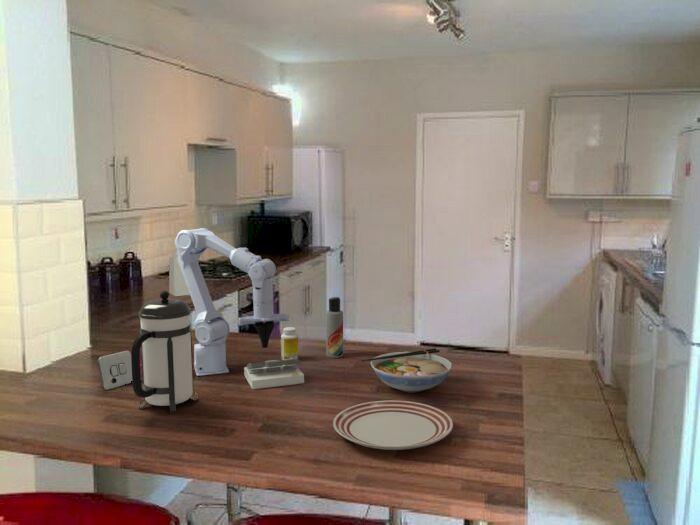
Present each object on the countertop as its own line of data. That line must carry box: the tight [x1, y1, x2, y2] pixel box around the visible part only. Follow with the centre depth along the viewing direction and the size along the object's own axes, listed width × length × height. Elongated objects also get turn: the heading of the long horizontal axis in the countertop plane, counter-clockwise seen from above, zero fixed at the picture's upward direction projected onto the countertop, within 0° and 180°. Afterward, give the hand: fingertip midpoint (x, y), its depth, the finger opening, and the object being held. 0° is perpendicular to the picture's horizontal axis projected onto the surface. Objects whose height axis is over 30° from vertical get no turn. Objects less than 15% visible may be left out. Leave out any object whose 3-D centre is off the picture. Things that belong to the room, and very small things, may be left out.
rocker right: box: [279, 358, 300, 365], centre depth 171 cm, size 4×7×2 cm, turn 20°
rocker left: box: [246, 361, 266, 369], centre depth 168 cm, size 4×7×2 cm, turn 20°
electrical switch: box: [96, 350, 132, 390], centre depth 165 cm, size 9×5×9 cm, turn 141°
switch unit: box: [243, 364, 305, 390], centre depth 170 cm, size 15×13×4 cm
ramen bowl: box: [360, 347, 453, 394], centre depth 162 cm, size 25×23×8 cm
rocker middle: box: [264, 359, 283, 367], centre depth 169 cm, size 4×7×2 cm, turn 20°
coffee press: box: [130, 290, 199, 414], centre depth 147 cm, size 17×16×30 cm
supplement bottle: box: [280, 326, 299, 360], centre depth 189 cm, size 6×6×10 cm
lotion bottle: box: [325, 296, 344, 359], centre depth 192 cm, size 6×6×20 cm
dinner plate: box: [332, 399, 454, 451], centre depth 133 cm, size 28×27×3 cm
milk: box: [168, 250, 190, 297], centre depth 304 cm, size 12×12×26 cm
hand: (264, 346), depth 169 cm, fingers closed
